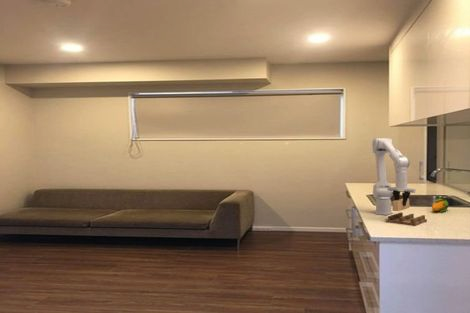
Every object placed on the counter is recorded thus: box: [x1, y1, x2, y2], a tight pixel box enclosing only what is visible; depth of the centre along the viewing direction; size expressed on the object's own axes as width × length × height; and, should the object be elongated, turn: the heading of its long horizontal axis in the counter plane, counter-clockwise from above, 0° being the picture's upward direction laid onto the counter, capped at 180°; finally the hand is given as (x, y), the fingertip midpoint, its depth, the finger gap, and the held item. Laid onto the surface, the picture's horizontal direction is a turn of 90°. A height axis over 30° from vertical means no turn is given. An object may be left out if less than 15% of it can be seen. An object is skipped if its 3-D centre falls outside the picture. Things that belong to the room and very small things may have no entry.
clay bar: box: [391, 198, 410, 212], centre depth 231 cm, size 14×3×5 cm, turn 136°
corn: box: [431, 198, 449, 213], centre depth 259 cm, size 7×8×20 cm
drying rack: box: [385, 212, 428, 227], centre depth 229 cm, size 16×15×3 cm
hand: (401, 205), depth 231 cm, fingers closed on clay bar, 3 cm apart
